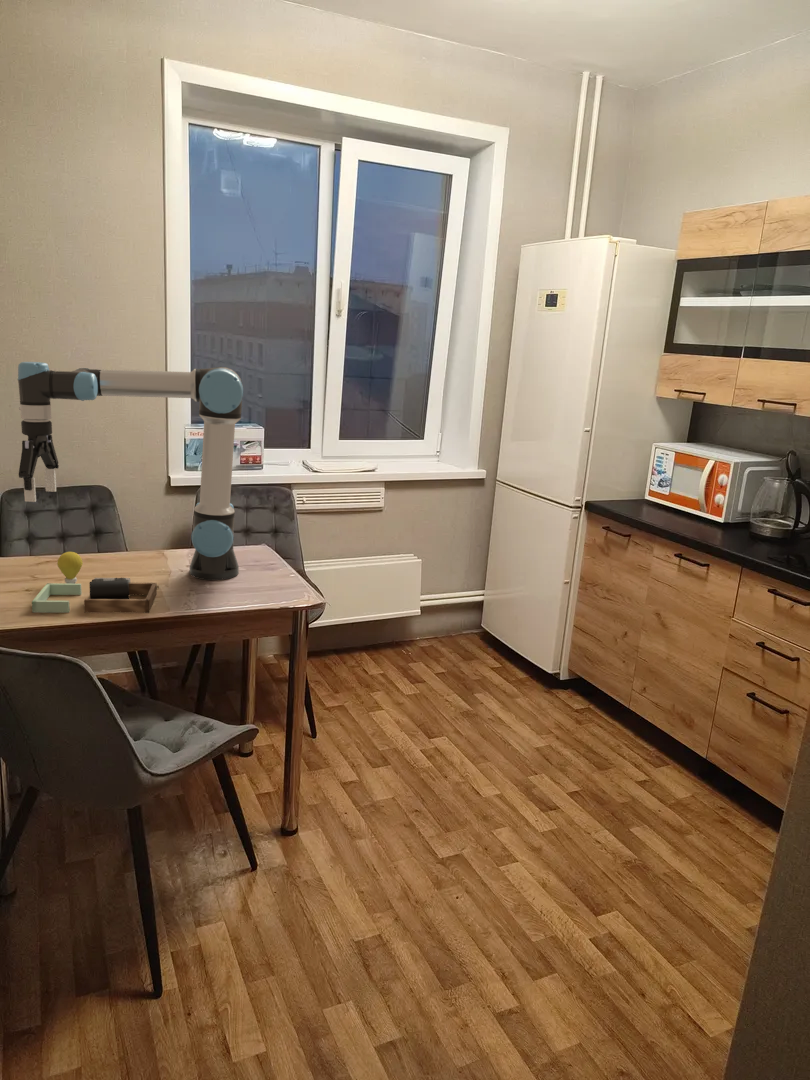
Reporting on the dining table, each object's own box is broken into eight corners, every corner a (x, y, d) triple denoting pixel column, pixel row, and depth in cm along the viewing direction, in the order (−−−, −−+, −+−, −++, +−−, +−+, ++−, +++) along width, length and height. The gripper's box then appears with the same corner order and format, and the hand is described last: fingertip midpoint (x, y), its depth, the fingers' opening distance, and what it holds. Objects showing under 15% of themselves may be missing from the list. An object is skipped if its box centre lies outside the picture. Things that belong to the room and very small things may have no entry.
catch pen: (81, 593, 217) (81, 583, 216) (68, 612, 203) (68, 601, 202) (47, 593, 215) (47, 583, 214) (32, 612, 201) (31, 601, 200)
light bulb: (74, 589, 219) (72, 556, 217) (53, 586, 220) (51, 553, 218) (88, 583, 226) (86, 550, 223) (67, 580, 227) (66, 547, 224)
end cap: (90, 609, 206) (89, 585, 205) (90, 600, 213) (89, 577, 211) (129, 606, 210) (128, 583, 208) (128, 598, 216) (127, 575, 215)
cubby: (156, 594, 221) (156, 582, 220) (149, 612, 206) (149, 600, 205) (96, 593, 217) (96, 582, 217) (84, 612, 203) (84, 600, 202)
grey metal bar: (130, 583, 229) (130, 578, 229) (129, 584, 228) (129, 579, 227) (95, 582, 227) (94, 577, 227) (94, 584, 226) (93, 579, 225)
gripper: (41, 414, 220) (45, 486, 225) (0, 424, 196) (6, 505, 201) (68, 415, 220) (71, 488, 226) (30, 426, 196) (35, 506, 202)
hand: (41, 496), depth 213 cm, fingers open, 13 cm apart
